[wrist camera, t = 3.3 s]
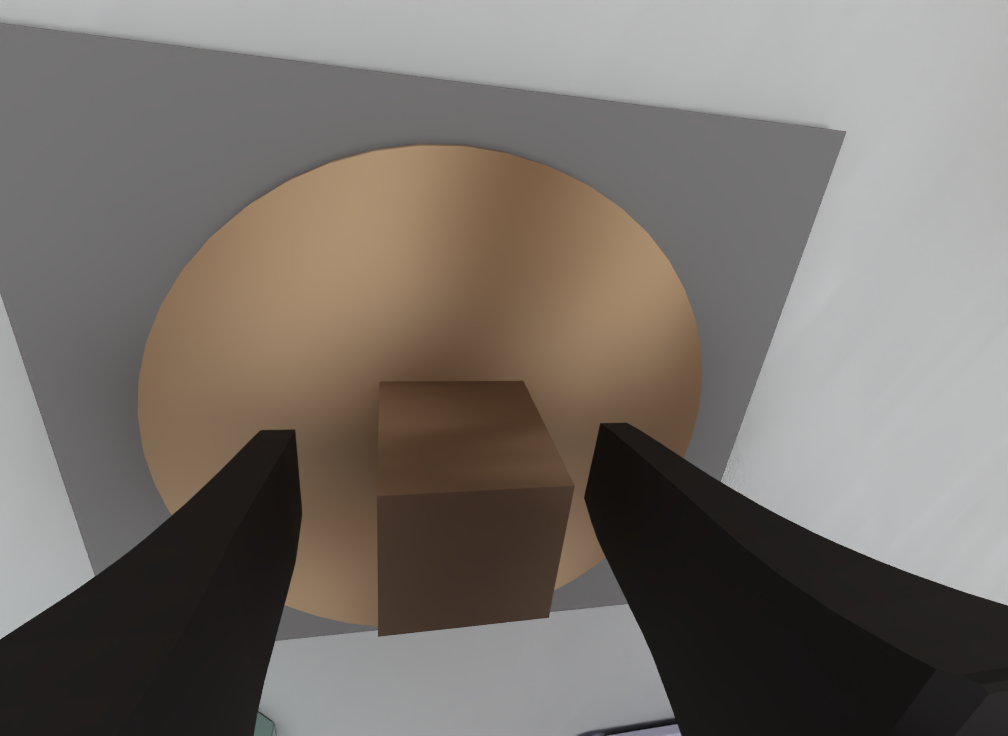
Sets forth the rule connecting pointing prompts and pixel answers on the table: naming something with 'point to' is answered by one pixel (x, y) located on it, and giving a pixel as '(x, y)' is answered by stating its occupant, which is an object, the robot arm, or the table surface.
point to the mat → (306, 145)
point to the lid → (423, 375)
